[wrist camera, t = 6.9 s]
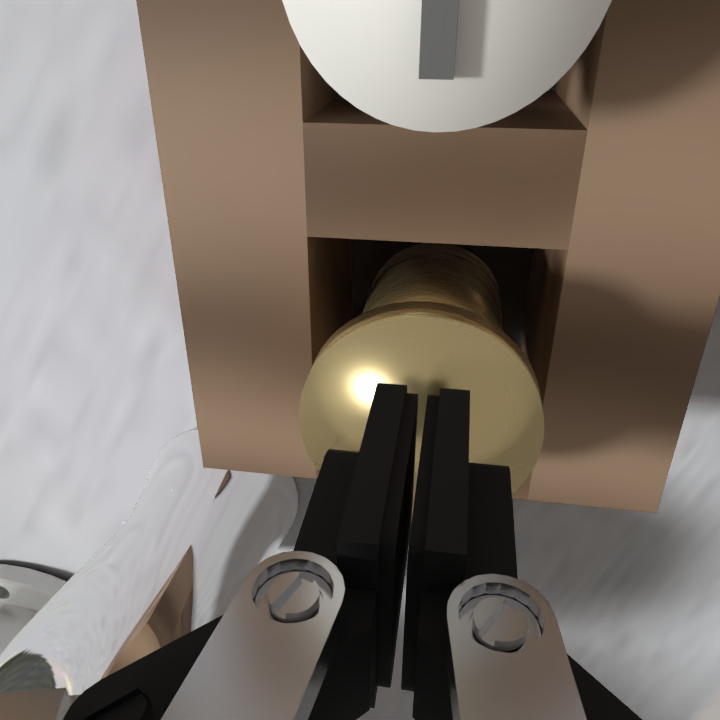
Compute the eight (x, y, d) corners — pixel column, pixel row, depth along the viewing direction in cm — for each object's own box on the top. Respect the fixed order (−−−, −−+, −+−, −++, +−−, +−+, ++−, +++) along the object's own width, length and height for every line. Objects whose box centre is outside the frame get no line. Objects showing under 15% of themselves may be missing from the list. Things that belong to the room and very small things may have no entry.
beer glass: (342, 479, 25) (205, 982, 12) (260, 576, 29) (84, 1052, 16) (185, 384, 24) (-142, 826, 11) (119, 496, 28) (-193, 936, 15)
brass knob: (512, 386, 19) (527, 534, 14) (348, 374, 20) (303, 510, 14) (535, 224, 17) (562, 327, 11) (347, 216, 17) (292, 310, 12)
